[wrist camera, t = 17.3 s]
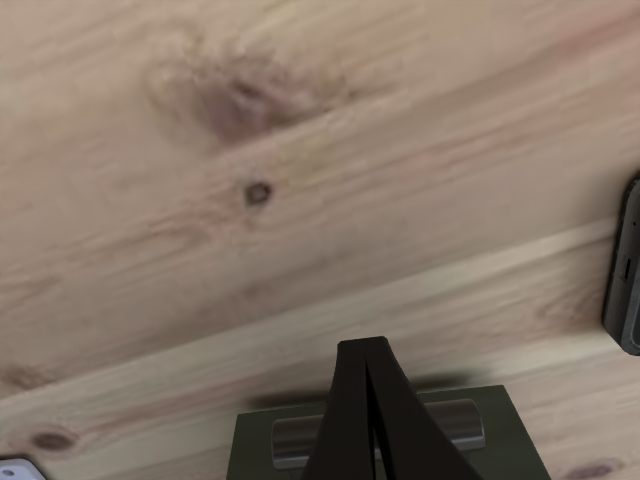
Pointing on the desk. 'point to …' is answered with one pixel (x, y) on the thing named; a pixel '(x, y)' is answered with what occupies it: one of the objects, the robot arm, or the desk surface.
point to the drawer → (304, 422)
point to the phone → (626, 278)
